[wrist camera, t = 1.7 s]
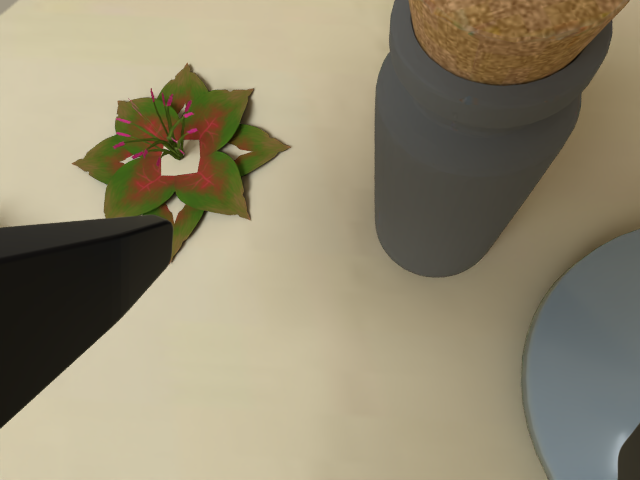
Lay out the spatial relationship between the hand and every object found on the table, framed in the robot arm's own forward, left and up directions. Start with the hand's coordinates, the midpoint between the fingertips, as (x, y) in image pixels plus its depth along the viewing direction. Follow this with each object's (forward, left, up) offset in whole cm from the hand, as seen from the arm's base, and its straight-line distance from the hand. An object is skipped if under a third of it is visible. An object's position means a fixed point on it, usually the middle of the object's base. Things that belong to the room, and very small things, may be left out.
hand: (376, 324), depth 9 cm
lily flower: (+14, +7, -14) cm, 21 cm away
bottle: (+6, -5, -14) cm, 16 cm away
